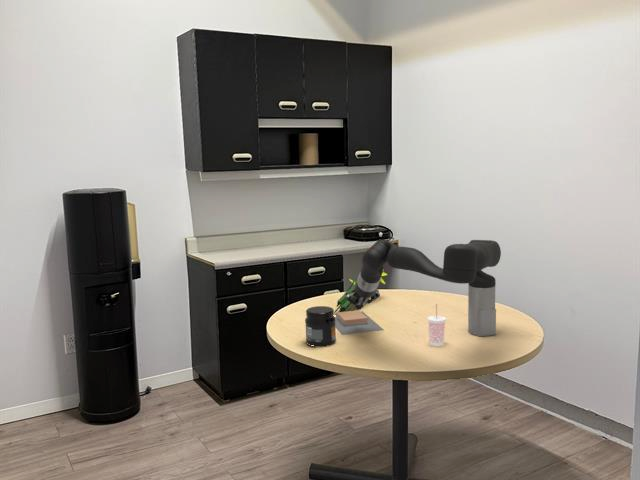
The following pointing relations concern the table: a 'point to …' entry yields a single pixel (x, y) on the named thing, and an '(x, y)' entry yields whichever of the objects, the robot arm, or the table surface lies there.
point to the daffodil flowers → (345, 303)
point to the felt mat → (357, 327)
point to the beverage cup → (436, 329)
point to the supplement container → (320, 326)
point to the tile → (352, 318)
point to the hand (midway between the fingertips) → (358, 307)
